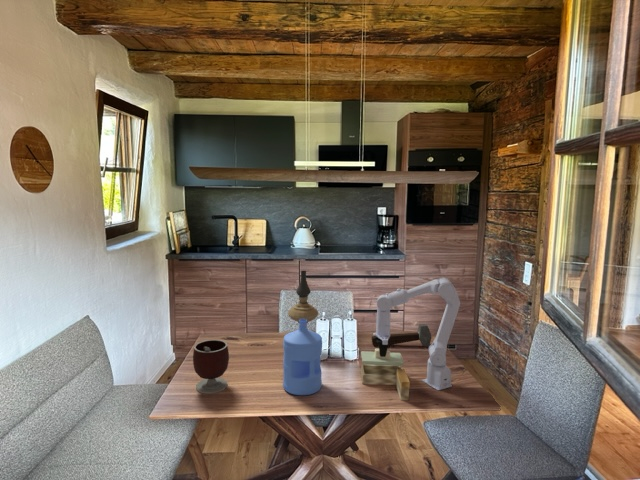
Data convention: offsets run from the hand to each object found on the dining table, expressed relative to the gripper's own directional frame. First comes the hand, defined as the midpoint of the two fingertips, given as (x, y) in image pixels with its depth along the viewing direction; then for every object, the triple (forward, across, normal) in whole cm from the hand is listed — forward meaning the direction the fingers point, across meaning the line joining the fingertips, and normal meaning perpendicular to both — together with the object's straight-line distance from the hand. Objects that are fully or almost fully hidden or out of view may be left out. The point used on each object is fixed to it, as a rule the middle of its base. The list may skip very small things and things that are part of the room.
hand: (382, 354), depth 172 cm
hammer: (+11, -36, +15) cm, 41 cm away
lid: (+3, 0, 0) cm, 3 cm away
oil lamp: (+11, -28, -35) cm, 46 cm away
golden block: (+5, +13, +6) cm, 16 cm away
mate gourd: (+11, +11, -70) cm, 72 cm away
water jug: (+11, +9, -33) cm, 36 cm away
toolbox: (+10, +7, 0) cm, 13 cm away
